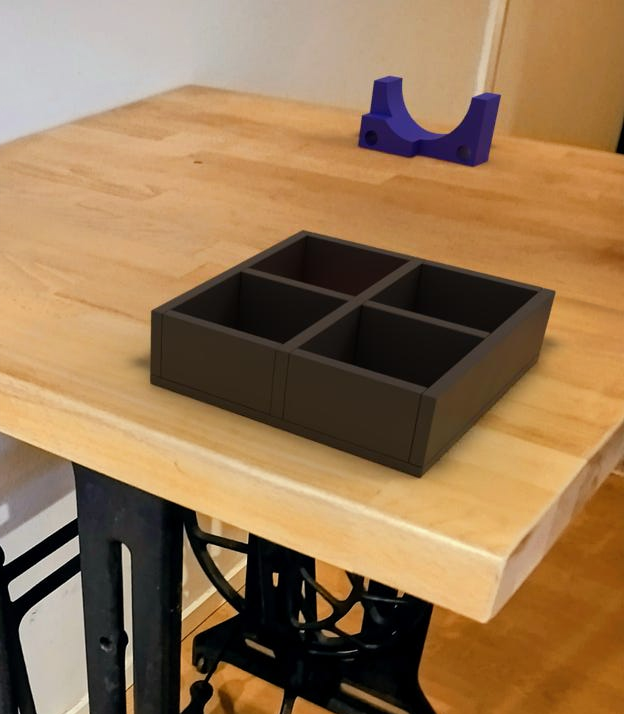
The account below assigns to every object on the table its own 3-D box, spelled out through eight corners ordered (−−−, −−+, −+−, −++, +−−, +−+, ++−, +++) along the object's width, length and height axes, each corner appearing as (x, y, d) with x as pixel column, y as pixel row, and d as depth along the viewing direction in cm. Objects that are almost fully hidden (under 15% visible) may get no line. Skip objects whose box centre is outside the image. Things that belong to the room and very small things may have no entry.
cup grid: (538, 360, 64) (556, 290, 61) (420, 478, 52) (436, 398, 50) (296, 294, 72) (302, 229, 69) (149, 383, 61) (150, 310, 58)
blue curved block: (357, 146, 103) (366, 82, 100) (380, 138, 106) (389, 75, 102) (466, 170, 97) (479, 102, 93) (487, 160, 100) (501, 94, 96)
